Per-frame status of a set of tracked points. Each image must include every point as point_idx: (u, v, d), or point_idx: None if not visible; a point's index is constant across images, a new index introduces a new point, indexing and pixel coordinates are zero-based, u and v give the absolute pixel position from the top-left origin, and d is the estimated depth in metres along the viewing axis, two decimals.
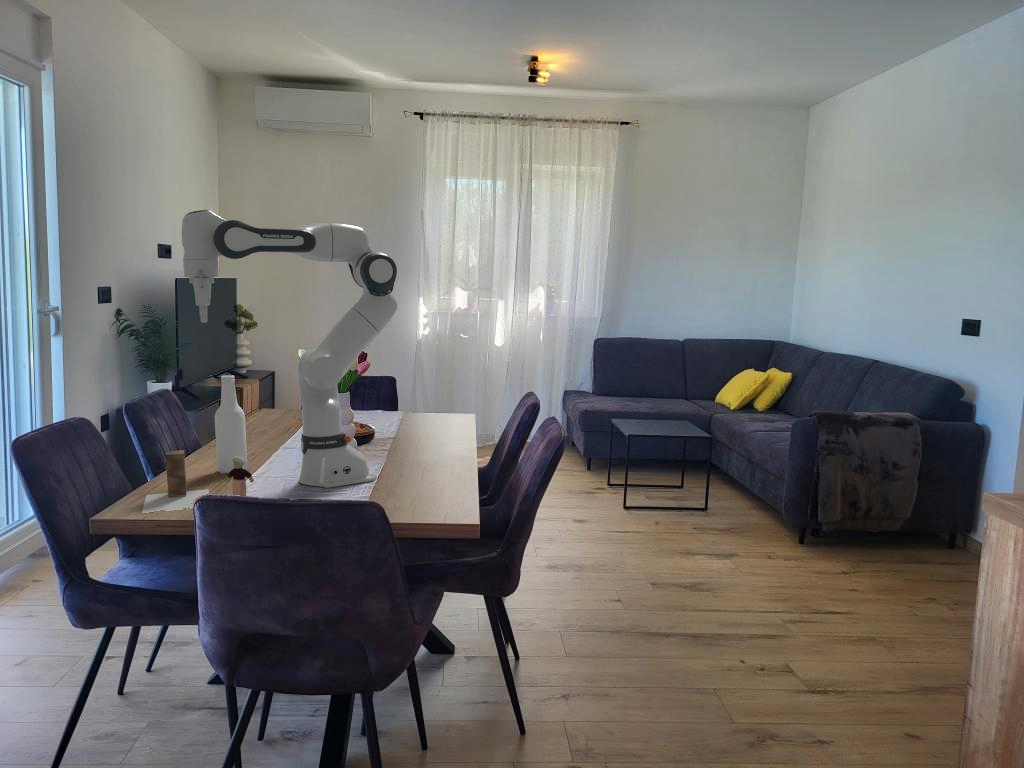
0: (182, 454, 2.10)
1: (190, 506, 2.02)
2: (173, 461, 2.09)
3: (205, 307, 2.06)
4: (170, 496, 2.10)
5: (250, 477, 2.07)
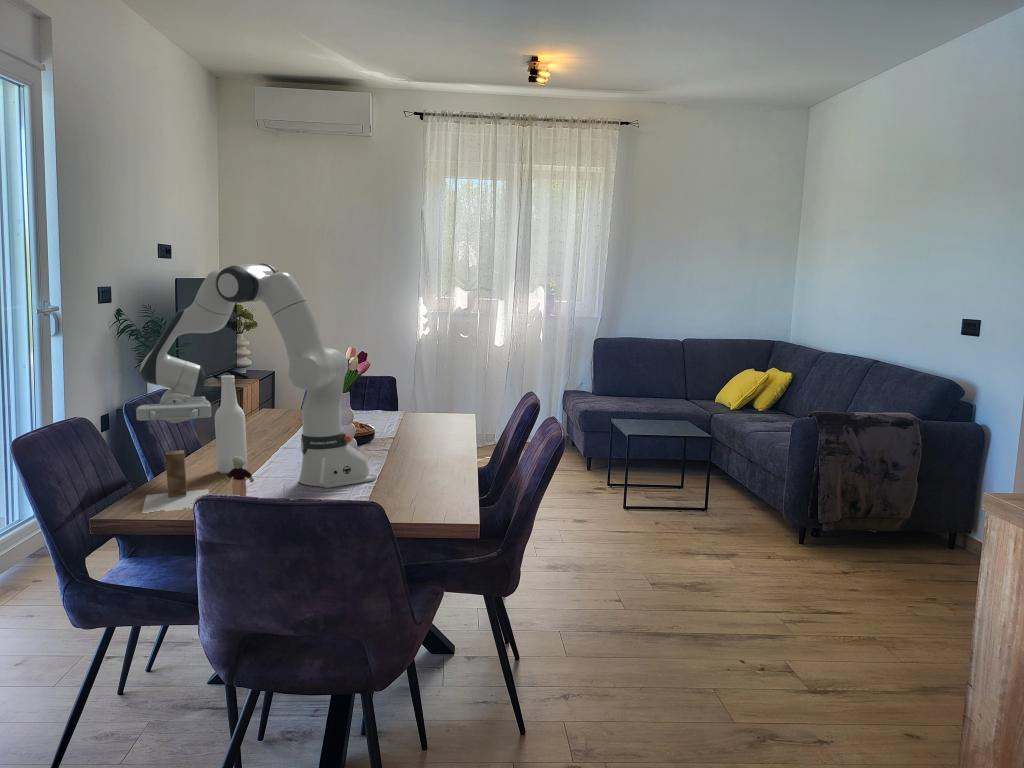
0: (182, 454, 2.10)
1: (190, 506, 2.02)
2: (173, 461, 2.09)
3: (149, 412, 2.21)
4: (170, 496, 2.10)
5: (250, 477, 2.07)
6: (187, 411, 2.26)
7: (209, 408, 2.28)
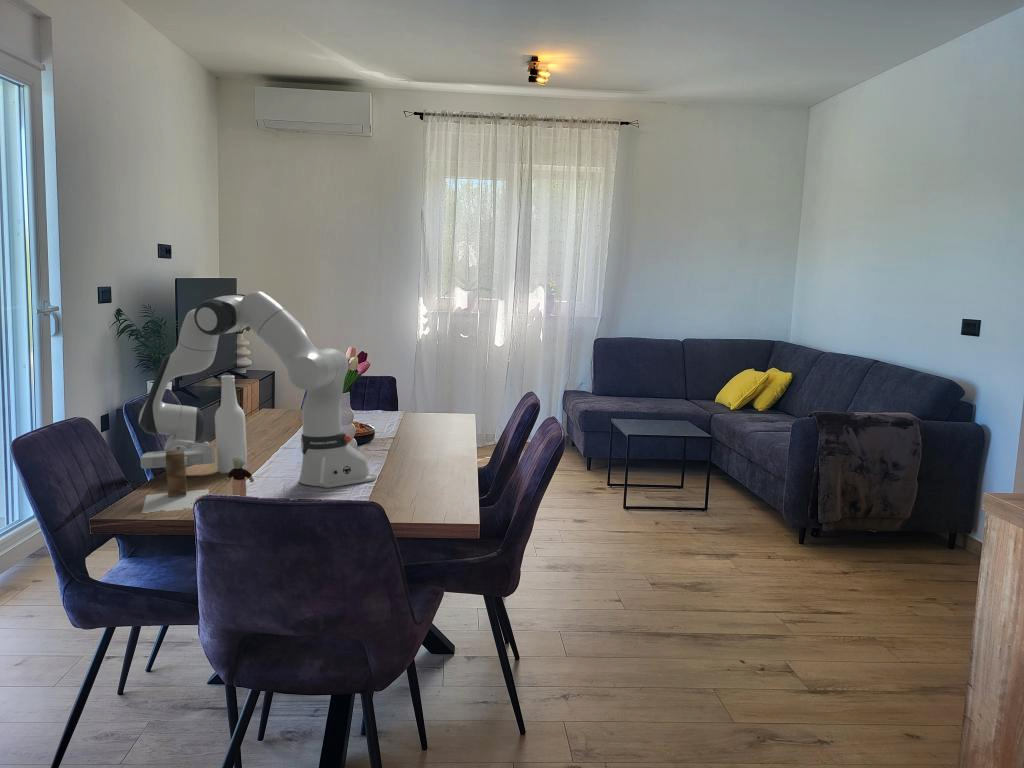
0: (182, 454, 2.10)
1: (190, 506, 2.02)
2: (173, 461, 2.09)
3: None
4: (170, 496, 2.10)
5: (250, 477, 2.07)
6: (191, 458, 2.28)
7: (212, 454, 2.30)
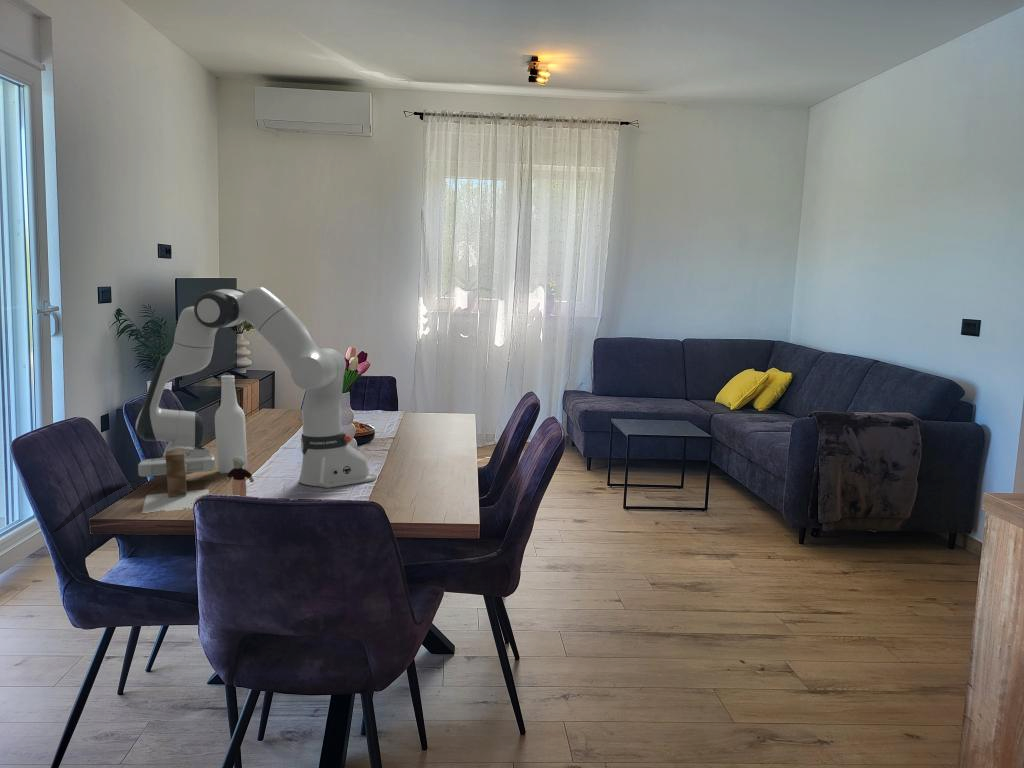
0: (182, 455, 2.09)
1: (190, 506, 2.02)
2: (173, 462, 2.09)
3: None
4: (170, 496, 2.10)
5: (250, 477, 2.07)
6: (190, 465, 2.20)
7: (213, 461, 2.22)
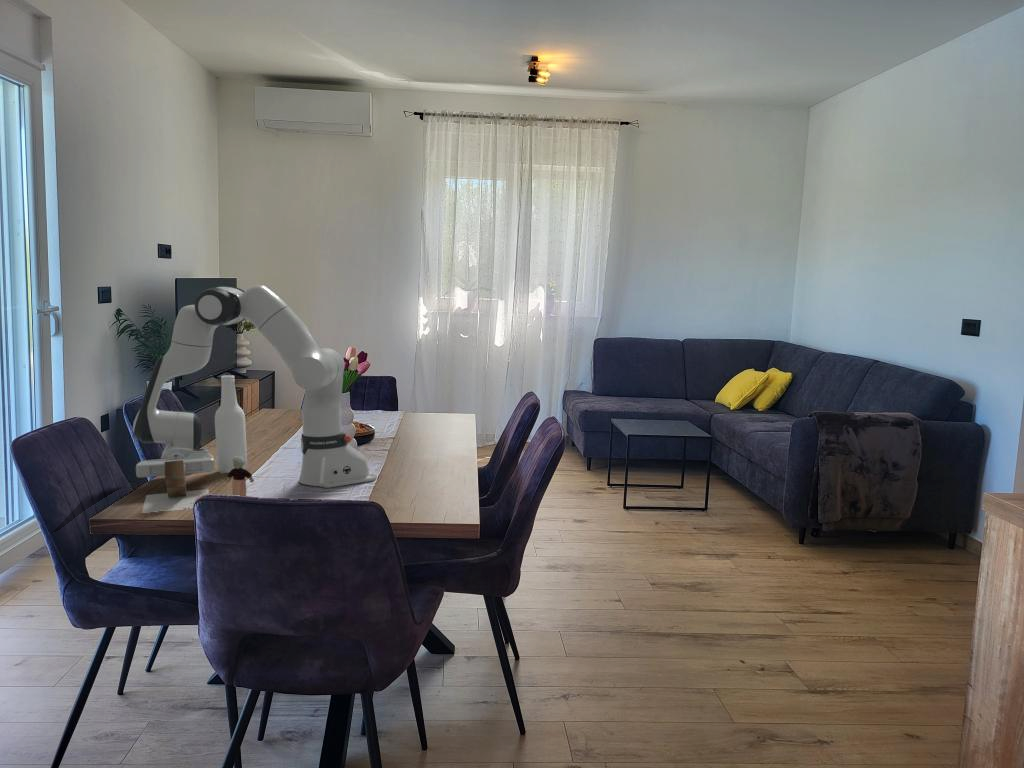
0: (182, 475, 2.03)
1: (190, 506, 2.02)
2: (173, 479, 2.03)
3: None
4: (170, 497, 2.10)
5: (250, 477, 2.07)
6: (189, 466, 2.16)
7: (212, 462, 2.18)
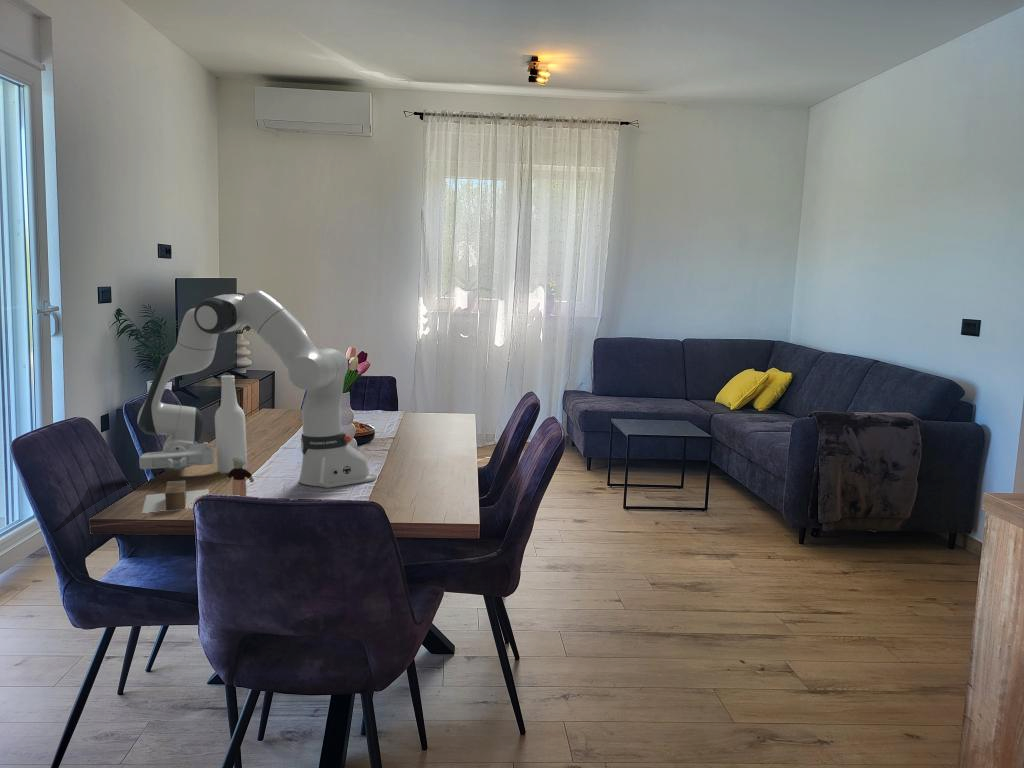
0: None
1: (190, 506, 2.02)
2: None
3: (167, 460, 2.24)
4: None
5: (250, 477, 2.07)
6: (190, 459, 2.27)
7: (212, 455, 2.29)
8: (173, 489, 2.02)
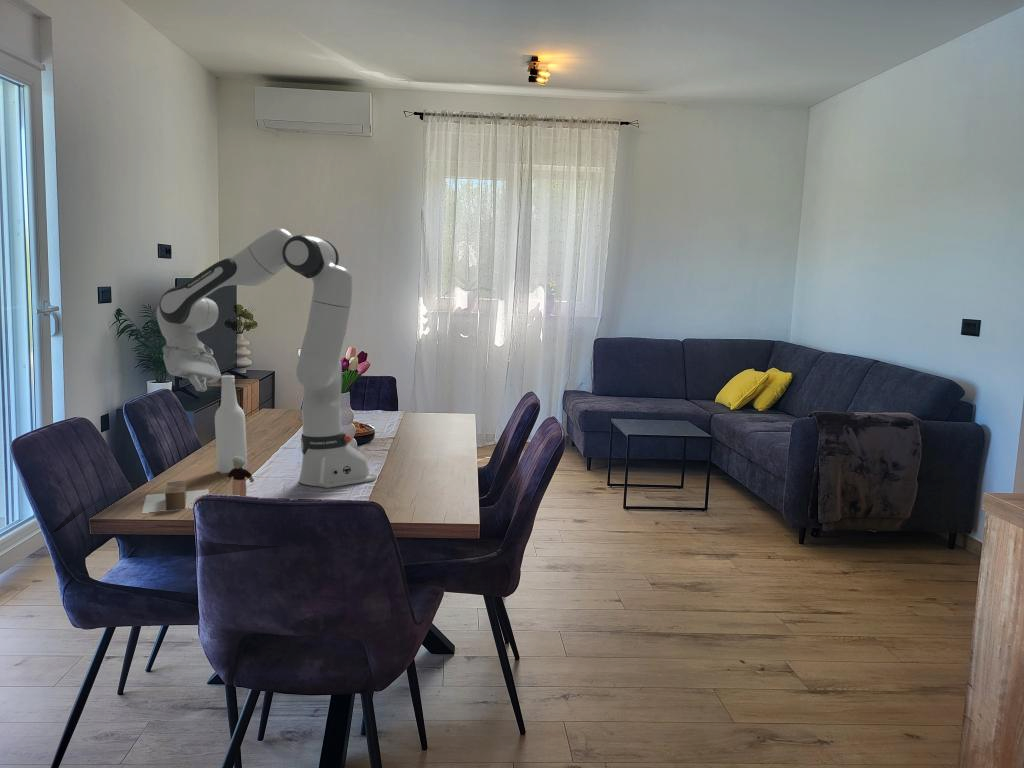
0: None
1: (190, 506, 2.02)
2: None
3: (192, 376, 2.24)
4: None
5: (250, 477, 2.07)
6: None
7: None
8: (173, 489, 2.02)
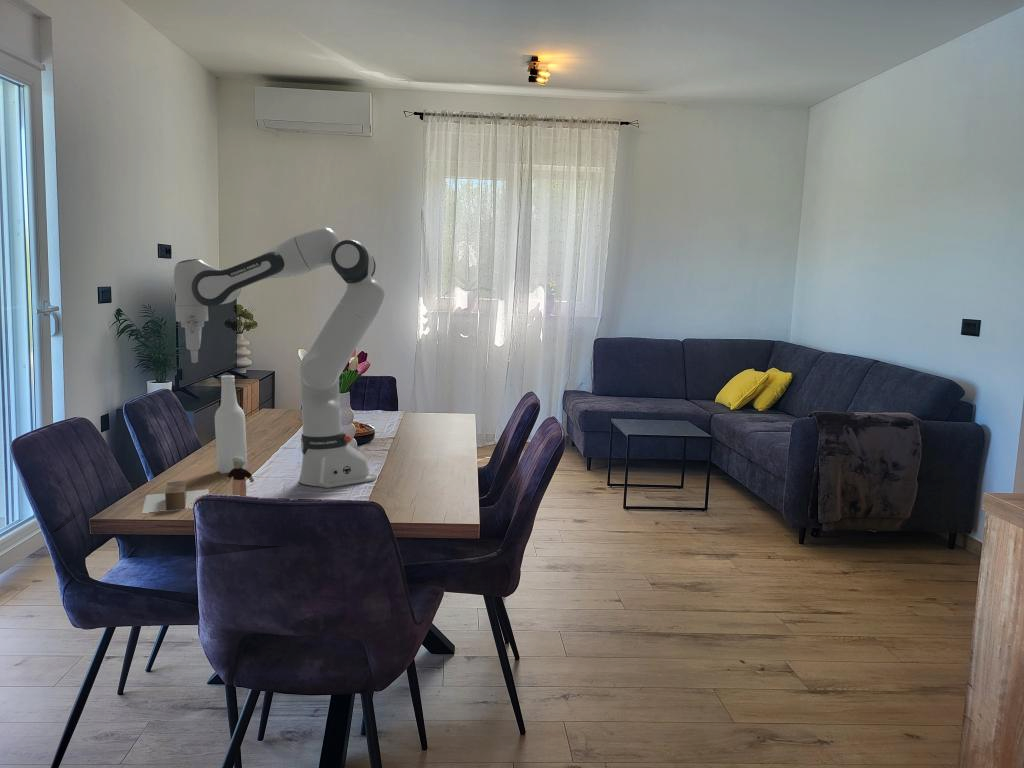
0: None
1: (190, 506, 2.02)
2: None
3: (195, 349, 2.25)
4: None
5: (250, 477, 2.07)
6: None
7: None
8: (173, 489, 2.02)
